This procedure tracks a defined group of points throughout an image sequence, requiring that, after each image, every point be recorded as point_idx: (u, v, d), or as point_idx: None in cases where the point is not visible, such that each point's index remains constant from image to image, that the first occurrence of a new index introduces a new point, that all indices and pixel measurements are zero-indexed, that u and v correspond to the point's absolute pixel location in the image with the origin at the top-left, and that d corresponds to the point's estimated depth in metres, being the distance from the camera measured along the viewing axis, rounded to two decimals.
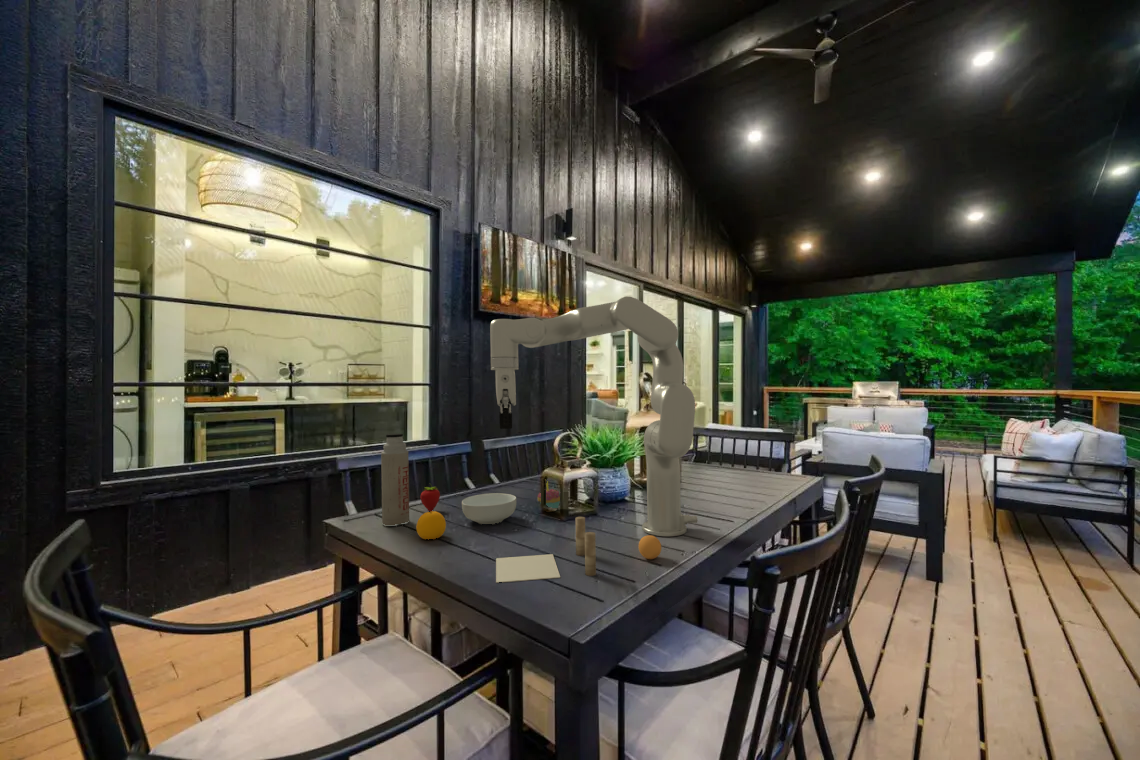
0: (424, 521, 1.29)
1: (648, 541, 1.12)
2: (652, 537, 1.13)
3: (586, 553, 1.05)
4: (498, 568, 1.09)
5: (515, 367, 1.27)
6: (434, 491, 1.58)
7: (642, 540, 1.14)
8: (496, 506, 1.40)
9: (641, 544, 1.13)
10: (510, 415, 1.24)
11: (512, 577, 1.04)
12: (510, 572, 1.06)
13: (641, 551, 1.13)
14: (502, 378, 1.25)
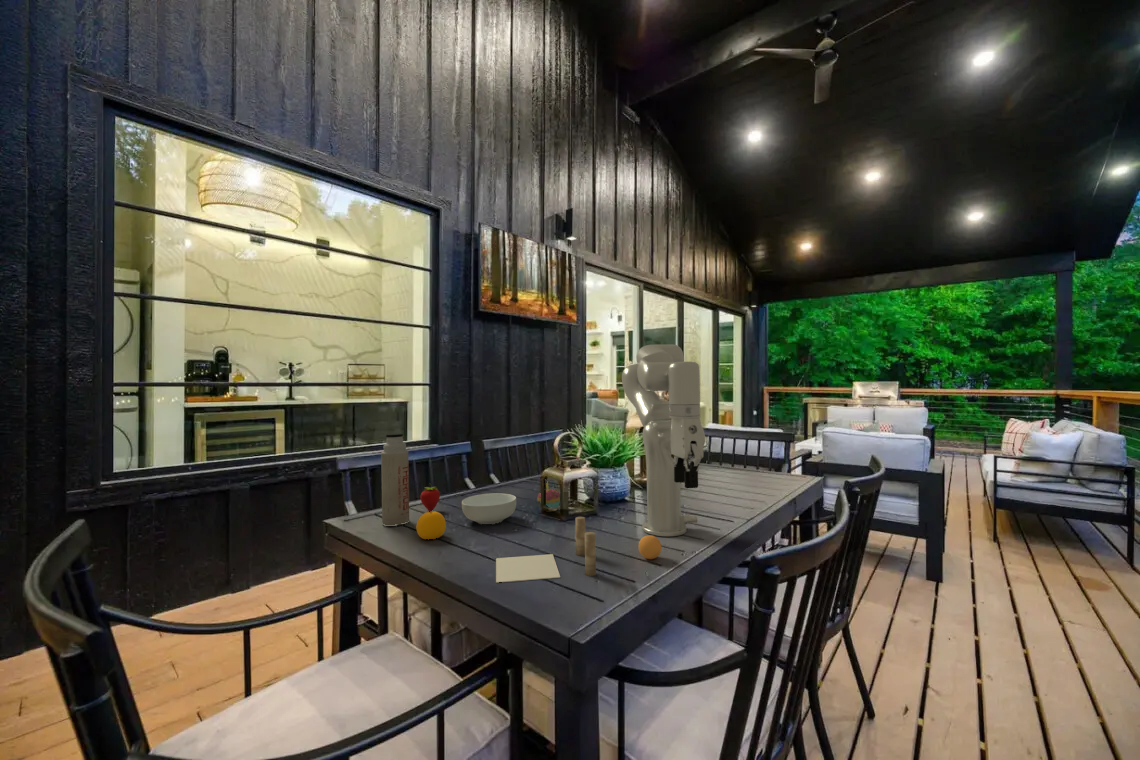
0: (424, 521, 1.29)
1: (648, 541, 1.12)
2: (652, 537, 1.13)
3: (586, 553, 1.05)
4: (498, 568, 1.09)
5: (699, 415, 1.14)
6: (434, 491, 1.58)
7: (642, 540, 1.14)
8: (496, 506, 1.40)
9: (641, 544, 1.13)
10: (696, 473, 1.12)
11: (512, 577, 1.04)
12: (510, 572, 1.06)
13: (641, 551, 1.13)
14: None
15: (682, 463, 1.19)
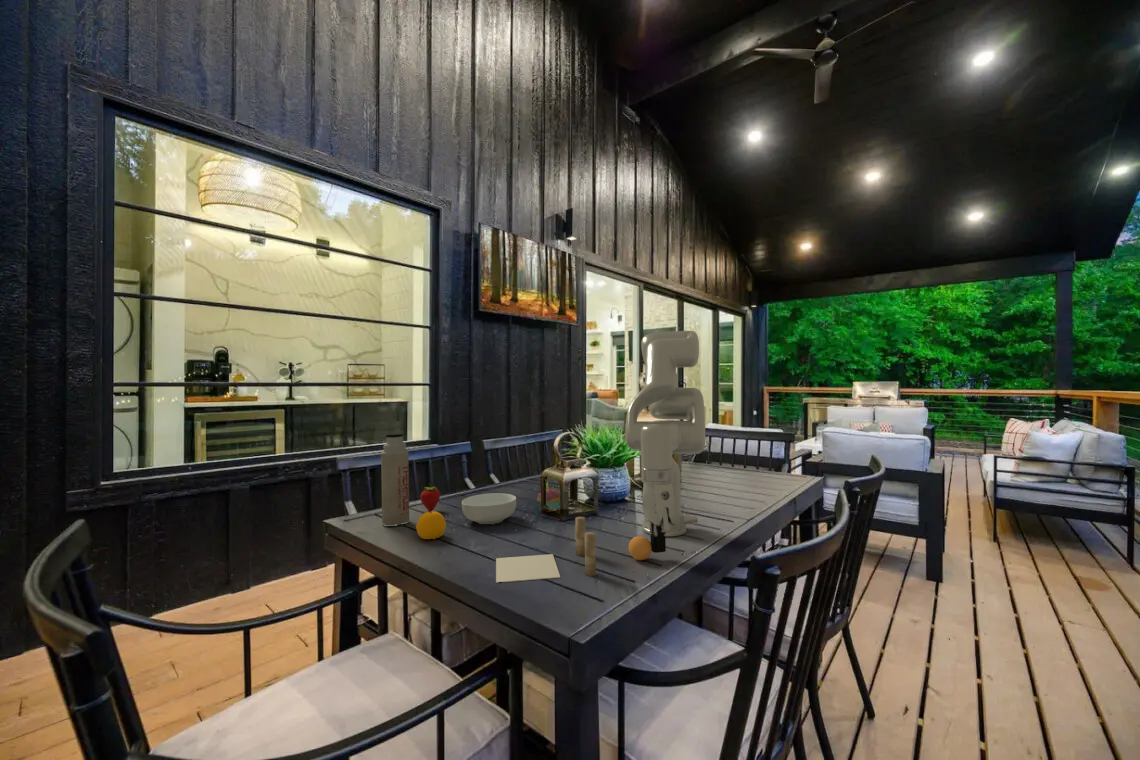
0: (424, 521, 1.29)
1: (634, 547, 1.12)
2: (635, 540, 1.12)
3: (586, 553, 1.05)
4: (498, 568, 1.09)
5: (672, 480, 1.13)
6: (434, 491, 1.58)
7: (629, 548, 1.13)
8: (496, 506, 1.40)
9: (631, 553, 1.12)
10: (664, 537, 1.13)
11: (512, 577, 1.04)
12: (510, 572, 1.06)
13: (635, 558, 1.12)
14: None
15: None
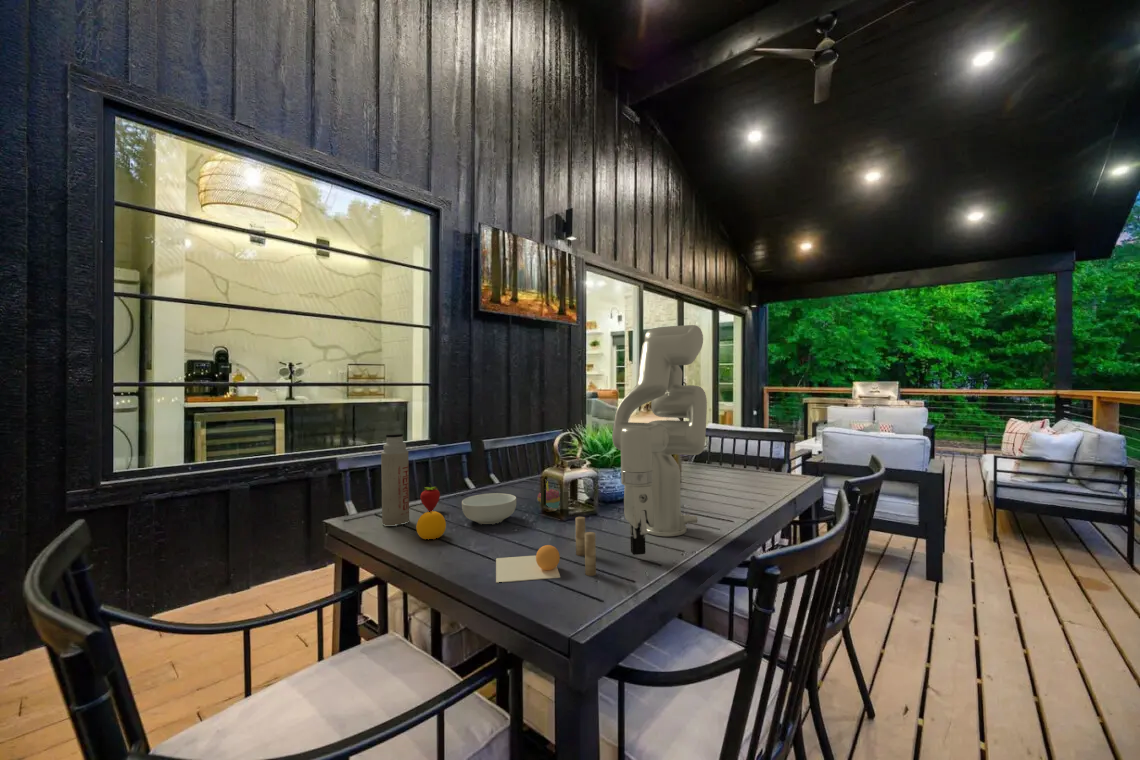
0: (424, 521, 1.29)
1: (549, 569, 1.07)
2: (542, 568, 1.07)
3: (586, 553, 1.05)
4: (498, 568, 1.09)
5: (651, 482, 1.12)
6: (434, 491, 1.58)
7: None
8: (496, 506, 1.40)
9: None
10: (643, 539, 1.13)
11: (512, 577, 1.04)
12: (510, 572, 1.06)
13: None
14: (639, 497, 1.10)
15: None
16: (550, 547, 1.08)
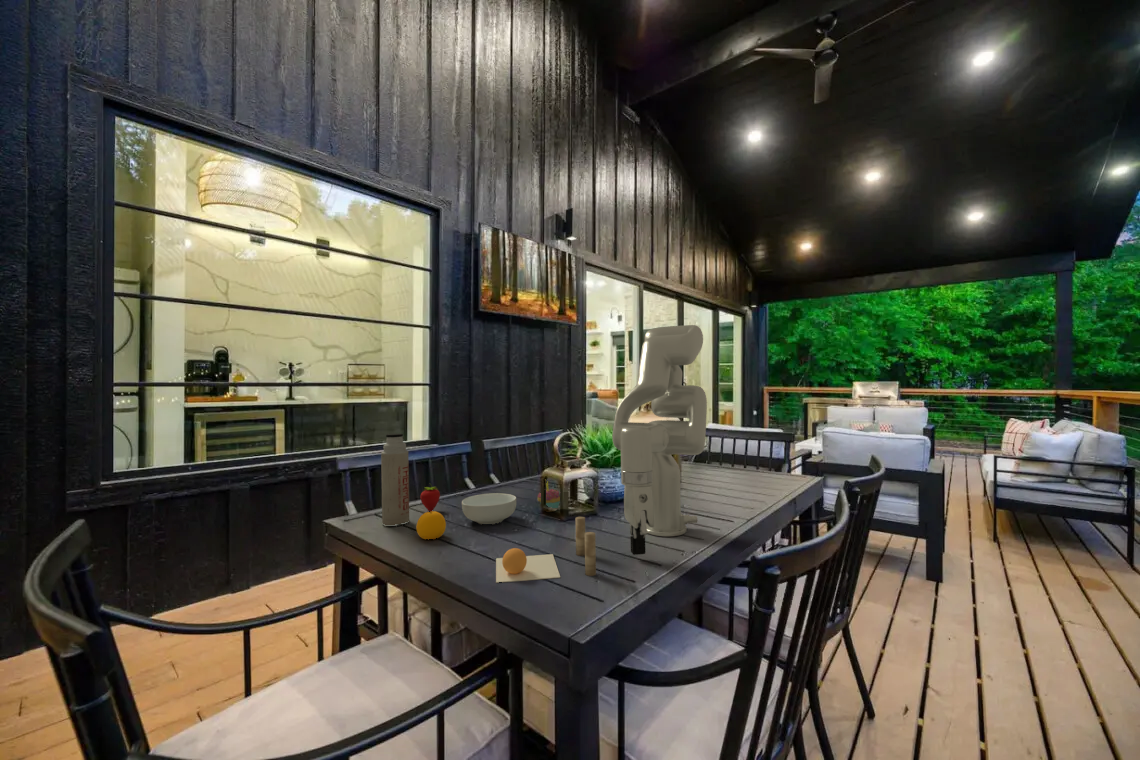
0: (424, 521, 1.29)
1: (518, 554, 1.05)
2: (524, 554, 1.06)
3: (586, 553, 1.05)
4: (498, 568, 1.09)
5: (651, 482, 1.12)
6: (434, 491, 1.58)
7: (514, 549, 1.06)
8: (496, 506, 1.40)
9: (510, 551, 1.06)
10: (643, 539, 1.13)
11: (512, 577, 1.04)
12: None
13: (505, 556, 1.05)
14: (639, 497, 1.10)
15: None
16: (509, 572, 1.06)
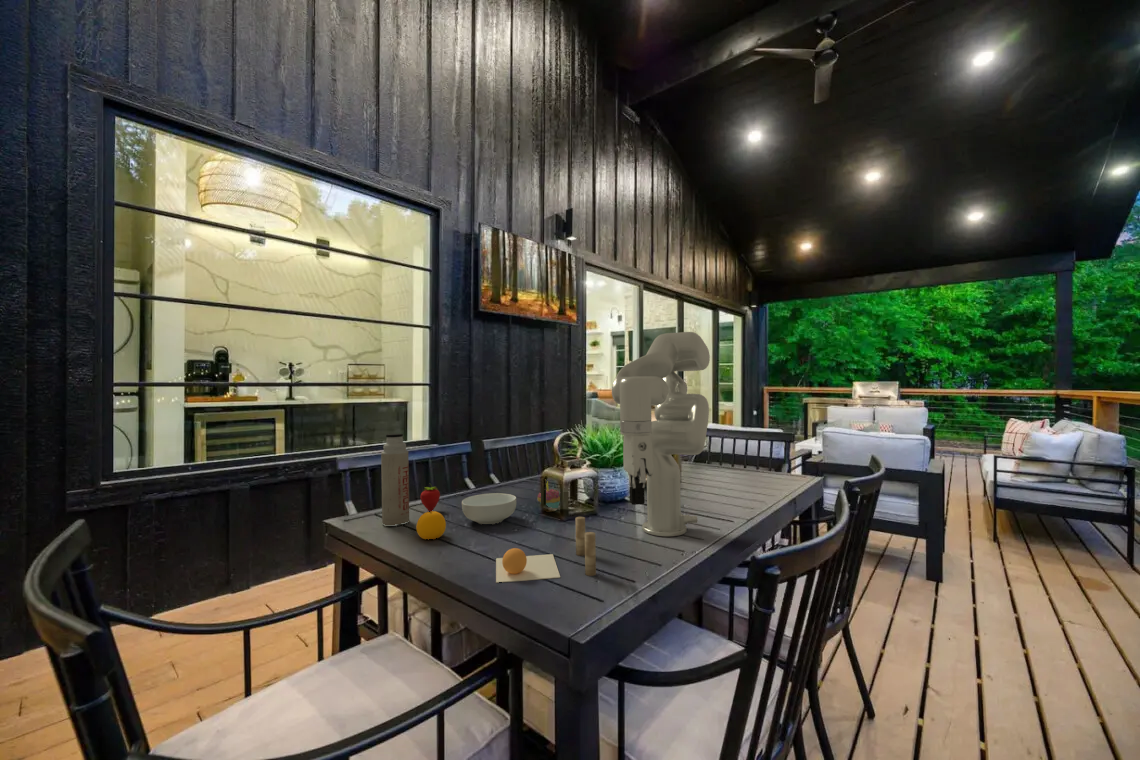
0: (424, 521, 1.29)
1: (518, 554, 1.05)
2: (524, 554, 1.06)
3: (586, 553, 1.05)
4: (498, 568, 1.09)
5: (650, 432, 1.12)
6: (434, 491, 1.58)
7: (514, 549, 1.06)
8: (496, 506, 1.40)
9: (510, 551, 1.06)
10: (642, 489, 1.13)
11: (512, 577, 1.04)
12: None
13: (505, 556, 1.05)
14: (638, 445, 1.10)
15: None
16: (509, 572, 1.06)
